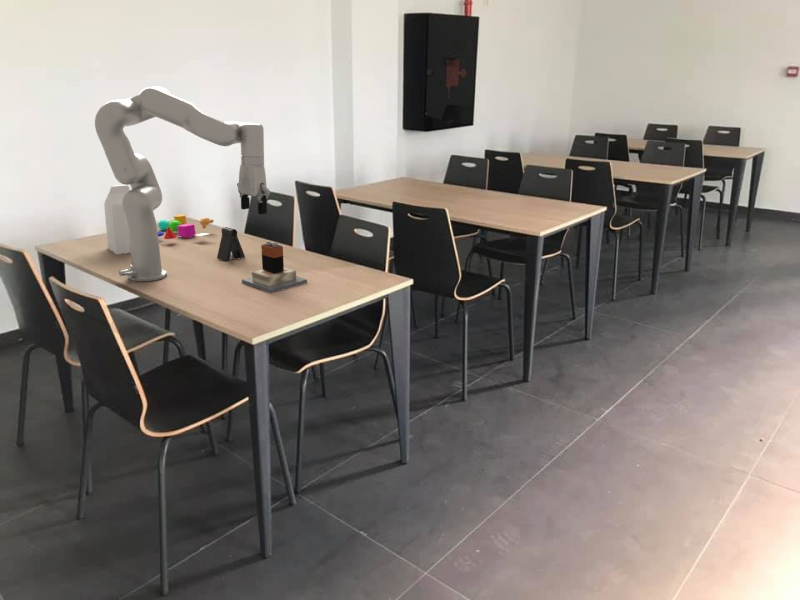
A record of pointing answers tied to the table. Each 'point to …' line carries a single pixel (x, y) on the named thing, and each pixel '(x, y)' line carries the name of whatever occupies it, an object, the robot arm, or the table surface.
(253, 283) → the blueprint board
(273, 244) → the battery
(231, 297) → the table surface
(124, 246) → the milk
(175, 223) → the shape set
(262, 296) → the table surface
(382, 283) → the table surface
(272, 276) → the plinth
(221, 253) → the phone stand
